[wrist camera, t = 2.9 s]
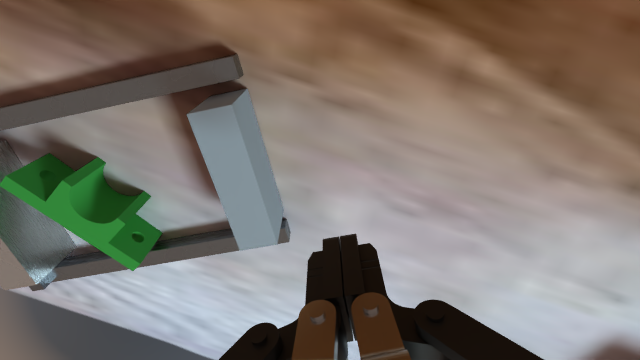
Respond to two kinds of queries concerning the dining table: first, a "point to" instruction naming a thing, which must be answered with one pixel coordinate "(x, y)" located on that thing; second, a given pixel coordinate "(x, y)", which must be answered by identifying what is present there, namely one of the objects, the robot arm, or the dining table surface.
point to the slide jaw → (239, 167)
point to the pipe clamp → (86, 206)
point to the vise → (50, 237)
